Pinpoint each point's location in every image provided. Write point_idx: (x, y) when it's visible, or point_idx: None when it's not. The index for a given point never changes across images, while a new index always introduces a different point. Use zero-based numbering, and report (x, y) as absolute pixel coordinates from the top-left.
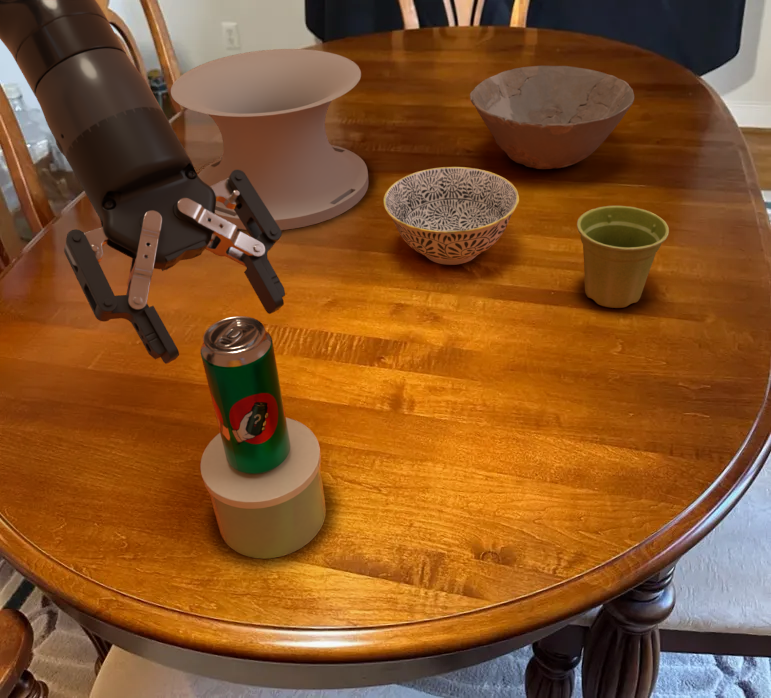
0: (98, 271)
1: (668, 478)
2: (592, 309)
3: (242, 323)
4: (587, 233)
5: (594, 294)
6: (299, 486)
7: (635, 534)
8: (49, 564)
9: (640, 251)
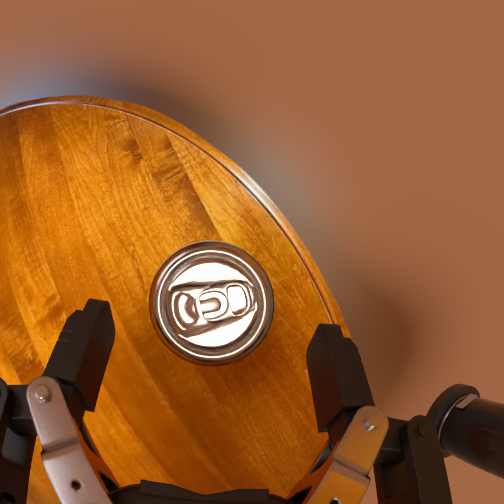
0: (427, 491)
1: (34, 121)
2: None
3: (176, 324)
4: None
5: None
6: (210, 240)
7: (78, 108)
8: None
9: None
